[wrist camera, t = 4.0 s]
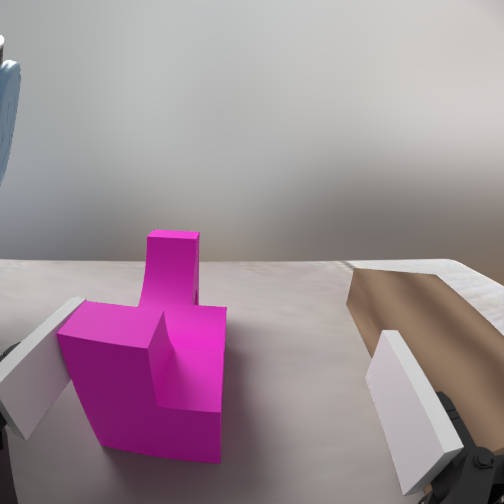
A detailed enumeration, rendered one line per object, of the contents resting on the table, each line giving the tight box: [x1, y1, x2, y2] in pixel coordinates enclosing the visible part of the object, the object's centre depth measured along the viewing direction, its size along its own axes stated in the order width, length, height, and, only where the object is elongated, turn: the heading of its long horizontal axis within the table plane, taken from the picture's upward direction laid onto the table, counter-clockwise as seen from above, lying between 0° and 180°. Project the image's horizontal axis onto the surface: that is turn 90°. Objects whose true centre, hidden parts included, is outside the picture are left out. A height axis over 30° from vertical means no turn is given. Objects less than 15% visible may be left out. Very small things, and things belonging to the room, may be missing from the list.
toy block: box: [57, 230, 227, 463], centre depth 17 cm, size 15×6×8 cm, turn 3°
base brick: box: [346, 268, 504, 495], centre depth 18 cm, size 10×22×4 cm, turn 177°
